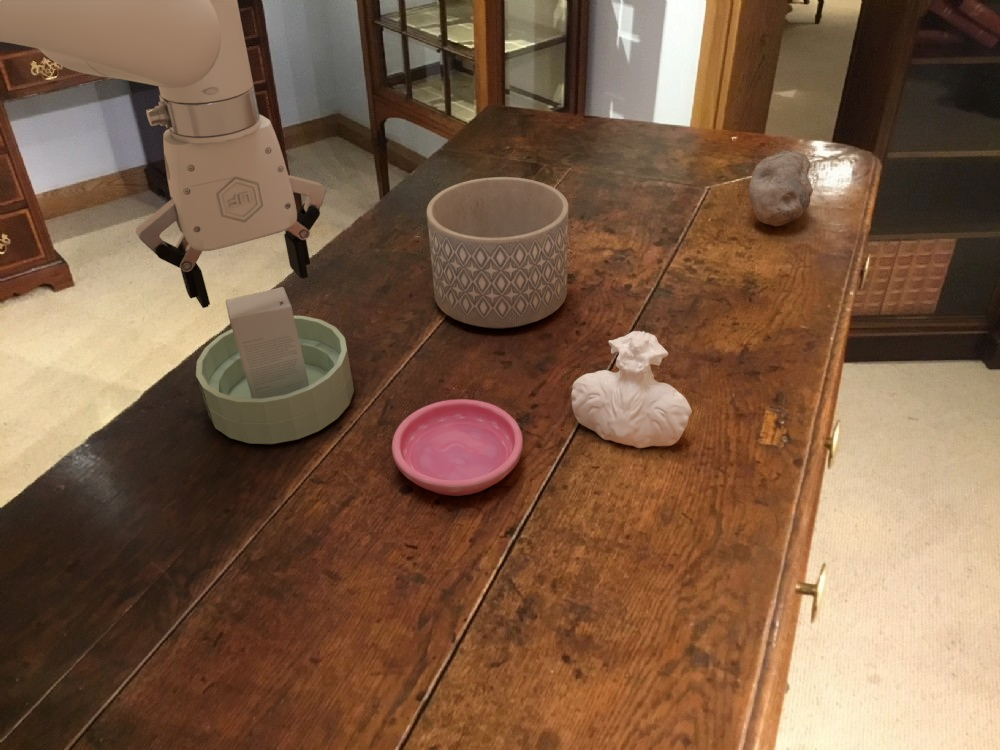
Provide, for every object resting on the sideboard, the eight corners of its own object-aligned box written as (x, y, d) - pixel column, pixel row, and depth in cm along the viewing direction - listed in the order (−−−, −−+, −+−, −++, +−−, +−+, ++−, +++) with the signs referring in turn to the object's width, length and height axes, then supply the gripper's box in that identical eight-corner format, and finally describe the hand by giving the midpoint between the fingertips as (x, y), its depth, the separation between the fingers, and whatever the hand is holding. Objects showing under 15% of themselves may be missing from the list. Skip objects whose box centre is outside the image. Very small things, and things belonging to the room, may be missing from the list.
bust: (686, 457, 85) (711, 347, 85) (676, 461, 78) (703, 341, 78) (573, 428, 89) (596, 324, 89) (553, 430, 82) (579, 316, 82)
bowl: (236, 468, 83) (221, 421, 79) (193, 389, 94) (178, 344, 90) (377, 413, 89) (370, 367, 86) (322, 344, 100) (313, 300, 96)
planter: (419, 282, 110) (409, 191, 103) (535, 256, 115) (535, 167, 107) (460, 350, 98) (452, 252, 90) (589, 318, 102) (592, 222, 95)
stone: (821, 202, 125) (835, 136, 119) (795, 244, 115) (809, 174, 109) (762, 190, 128) (772, 126, 122) (732, 230, 118) (742, 162, 112)
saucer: (512, 415, 88) (511, 391, 86) (533, 500, 78) (533, 475, 76) (392, 429, 87) (389, 405, 85) (398, 517, 77) (394, 492, 75)
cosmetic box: (305, 379, 93) (285, 285, 86) (313, 401, 90) (292, 305, 83) (249, 393, 92) (224, 298, 84) (255, 416, 88) (229, 320, 81)
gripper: (116, 146, 66) (171, 331, 76) (324, 103, 73) (350, 277, 83) (97, 119, 71) (151, 295, 81) (293, 81, 78) (321, 248, 89)
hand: (252, 286), depth 82 cm, fingers open, 9 cm apart
